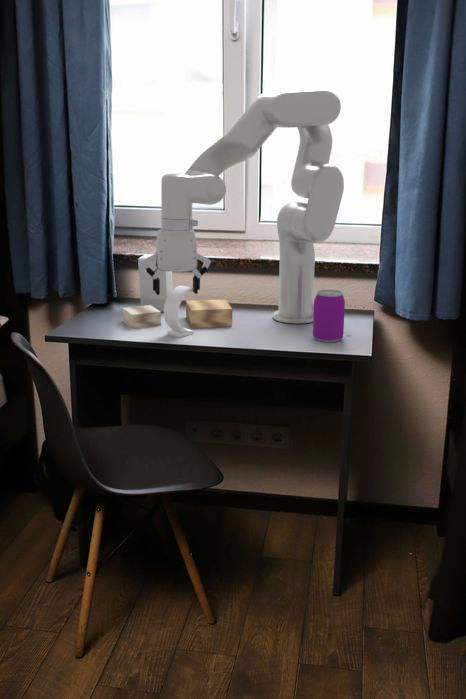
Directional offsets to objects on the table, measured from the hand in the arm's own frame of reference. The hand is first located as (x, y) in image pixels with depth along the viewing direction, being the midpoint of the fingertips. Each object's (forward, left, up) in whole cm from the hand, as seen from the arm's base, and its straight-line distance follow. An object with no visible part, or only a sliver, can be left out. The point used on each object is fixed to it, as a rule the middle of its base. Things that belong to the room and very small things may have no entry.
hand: (176, 293), depth 202 cm
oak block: (-11, -11, -11) cm, 19 cm away
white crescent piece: (-1, 0, -11) cm, 11 cm away
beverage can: (-37, +12, -11) cm, 40 cm away
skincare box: (+1, -27, -11) cm, 29 cm away
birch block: (+7, -13, -11) cm, 19 cm away
